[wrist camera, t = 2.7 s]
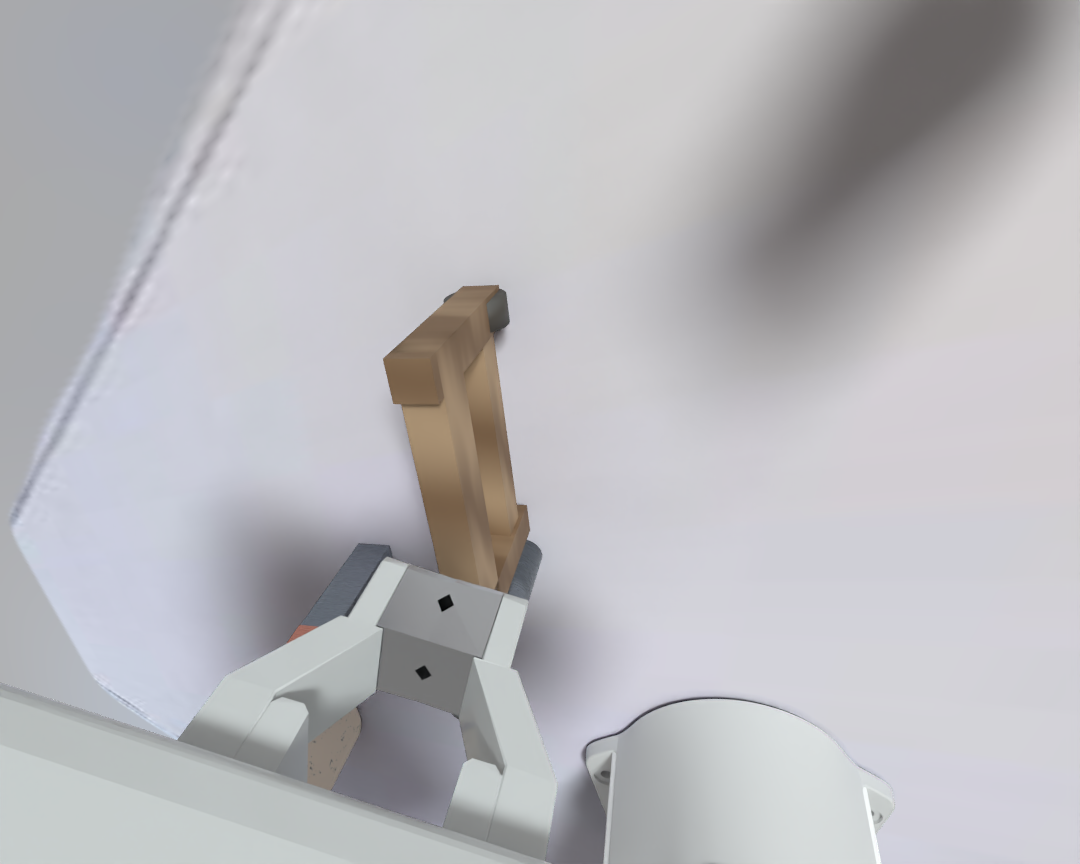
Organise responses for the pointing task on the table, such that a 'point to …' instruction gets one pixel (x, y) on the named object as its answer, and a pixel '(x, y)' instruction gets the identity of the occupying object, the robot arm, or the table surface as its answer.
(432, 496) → the gate
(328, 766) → the teacup with lid
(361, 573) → the posts
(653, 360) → the table surface
